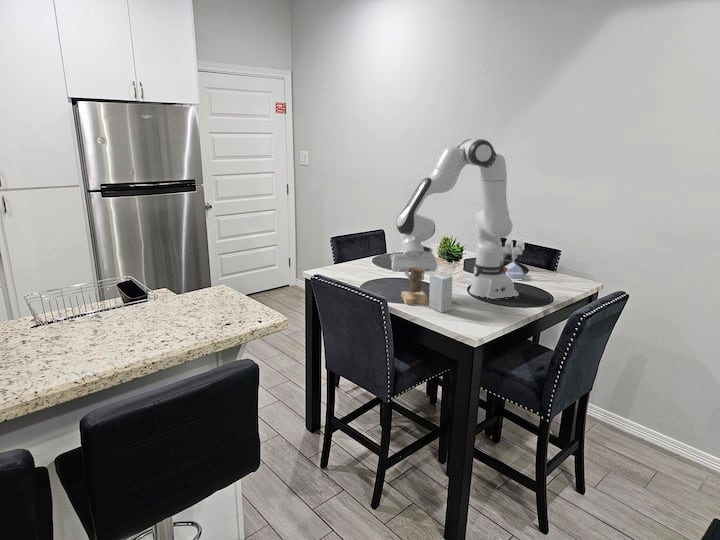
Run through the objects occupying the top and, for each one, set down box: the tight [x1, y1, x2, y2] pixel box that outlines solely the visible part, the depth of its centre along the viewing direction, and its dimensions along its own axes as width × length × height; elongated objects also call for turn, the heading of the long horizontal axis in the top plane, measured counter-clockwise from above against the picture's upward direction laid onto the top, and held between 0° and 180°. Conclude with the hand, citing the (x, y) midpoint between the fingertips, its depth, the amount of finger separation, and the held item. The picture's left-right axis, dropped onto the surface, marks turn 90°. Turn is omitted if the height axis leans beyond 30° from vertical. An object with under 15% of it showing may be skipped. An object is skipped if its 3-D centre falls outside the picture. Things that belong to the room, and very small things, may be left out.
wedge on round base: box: [504, 261, 525, 279], centre depth 253 cm, size 9×7×13 cm
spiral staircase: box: [475, 235, 525, 266], centre depth 274 cm, size 18×18×25 cm
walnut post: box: [409, 268, 423, 292], centre depth 211 cm, size 4×4×10 cm
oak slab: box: [400, 290, 429, 305], centre depth 214 cm, size 10×10×3 cm
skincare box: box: [428, 272, 453, 314], centre depth 203 cm, size 8×6×15 cm
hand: (416, 279), depth 211 cm, fingers closed on walnut post, 4 cm apart
